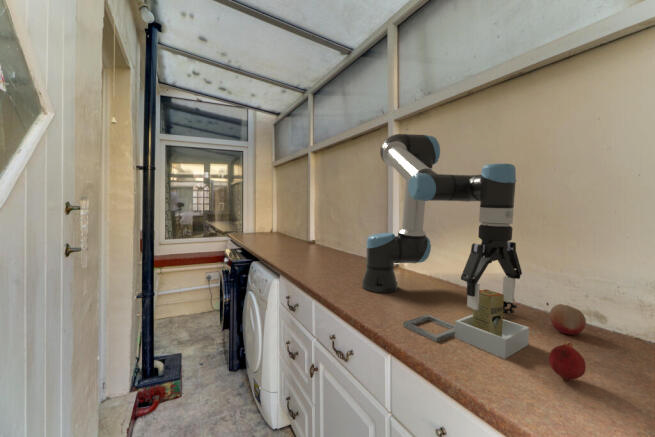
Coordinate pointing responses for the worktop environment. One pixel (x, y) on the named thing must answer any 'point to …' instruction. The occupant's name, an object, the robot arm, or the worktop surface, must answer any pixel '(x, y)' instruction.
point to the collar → (436, 338)
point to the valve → (509, 308)
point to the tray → (493, 337)
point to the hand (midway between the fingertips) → (490, 304)
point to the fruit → (567, 319)
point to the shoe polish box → (489, 312)
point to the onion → (567, 362)
